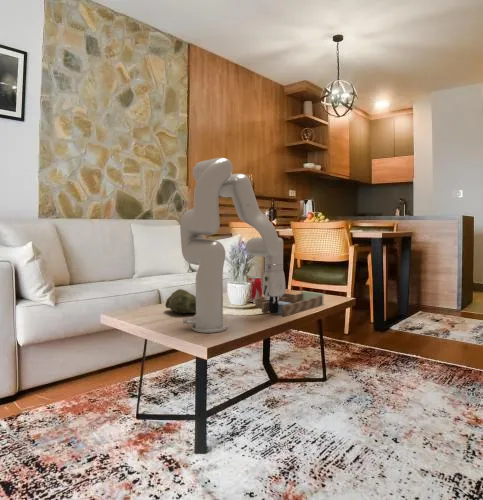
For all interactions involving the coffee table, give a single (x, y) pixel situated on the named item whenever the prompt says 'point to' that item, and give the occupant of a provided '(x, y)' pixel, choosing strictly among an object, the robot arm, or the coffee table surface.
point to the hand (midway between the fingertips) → (273, 312)
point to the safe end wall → (312, 295)
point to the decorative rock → (181, 302)
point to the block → (281, 306)
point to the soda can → (255, 287)
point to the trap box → (295, 307)
